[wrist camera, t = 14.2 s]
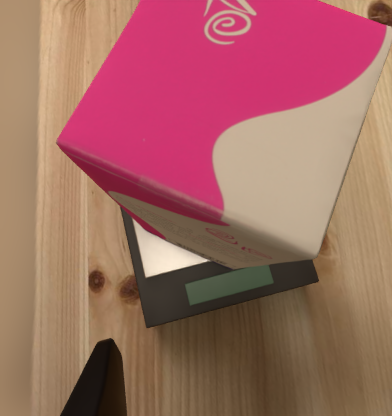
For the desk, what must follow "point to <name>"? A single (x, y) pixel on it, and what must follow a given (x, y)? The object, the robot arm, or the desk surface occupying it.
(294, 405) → the desk surface
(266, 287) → the scale
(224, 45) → the supplement box
